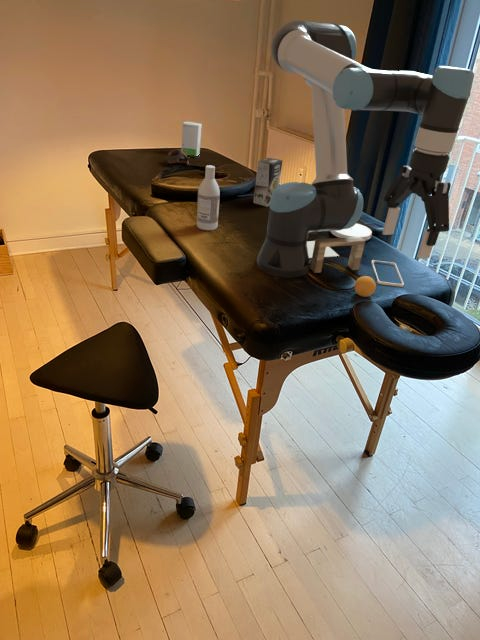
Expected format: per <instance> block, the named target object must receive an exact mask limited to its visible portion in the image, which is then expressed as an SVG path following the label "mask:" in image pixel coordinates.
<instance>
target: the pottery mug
mask: <svg viewBox="0 0 480 640" xmlns="http://www.w3.org/2000/svg"><path fill="white" fill-rule="evenodd" d="M173 155H174V156H173ZM171 156H172V157H171ZM166 158H167V164H168V163H169V164H172V165H173V164H175V163H178V164H179V163H180V162H183V161H185V162H187V164H186V165H188V164H189V165H190V163H189V162H190V161H189V157H187V155H186V154H185V153H184V152H182V151H181V149H180V148H175V149H173V150H171V151H169V152H168V153H167V157H166Z"/></svg>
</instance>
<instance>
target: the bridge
mask: <svg viewBox="0 0 480 640" xmlns="http://www.w3.org/2000/svg"><path fill="white" fill-rule="evenodd" d="M314 241H315V245H314V250H313V256H312V258H311V262H310V265H309V268H310V269H309V270H311V271H312V272H313V273H314V274H316V273H317V274H319V273H321V272H322V268H323V264H324V259H325V257H324V254H325V249H326V247H330V248H332V247H345V246H346V247H348V246H351V250H350V253H349V258H348V261H347V267H348V268H350V269H351V270H352V271H358V270H359V269H360V266H361V261H362V257H363V253H364V249H365V246H366V245H365V243H366V241H365V240H364V239H362V238H361V237H344V238H339V237H330V238H329V237H328V238H327V237H326V238H325V237H324V238H315V239H314Z"/></svg>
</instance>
